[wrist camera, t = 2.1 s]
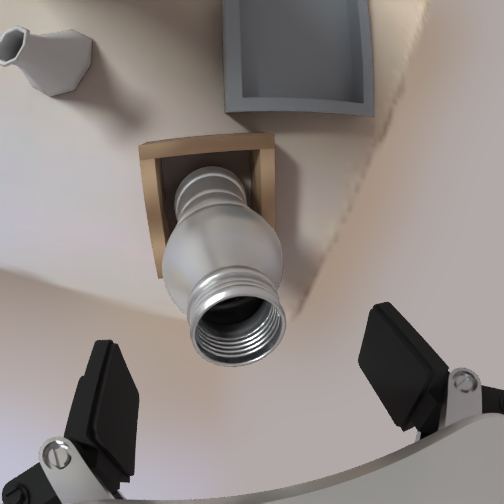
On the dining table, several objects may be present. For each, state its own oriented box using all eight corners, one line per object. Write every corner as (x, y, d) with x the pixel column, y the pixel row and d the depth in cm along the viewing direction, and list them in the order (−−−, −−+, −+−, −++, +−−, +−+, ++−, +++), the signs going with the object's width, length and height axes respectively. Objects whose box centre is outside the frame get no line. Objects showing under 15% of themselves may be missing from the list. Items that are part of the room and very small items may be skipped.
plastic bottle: (254, 181, 29) (355, 291, 11) (220, 238, 31) (262, 400, 13) (196, 150, 26) (203, 214, 9) (163, 211, 28) (128, 363, 10)
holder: (146, 142, 25) (138, 146, 21) (262, 132, 27) (274, 134, 23) (162, 257, 30) (158, 278, 26) (264, 245, 32) (275, 265, 28)
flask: (46, 30, 17) (-4, 6, 8) (104, 32, 19) (67, -2, 10) (24, 94, 20) (-34, 93, 11) (80, 100, 22) (30, 95, 13)
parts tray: (221, -42, 17) (224, -56, 15) (348, -25, 20) (361, -34, 17) (225, 112, 25) (228, 111, 23) (358, 115, 27) (373, 116, 25)
